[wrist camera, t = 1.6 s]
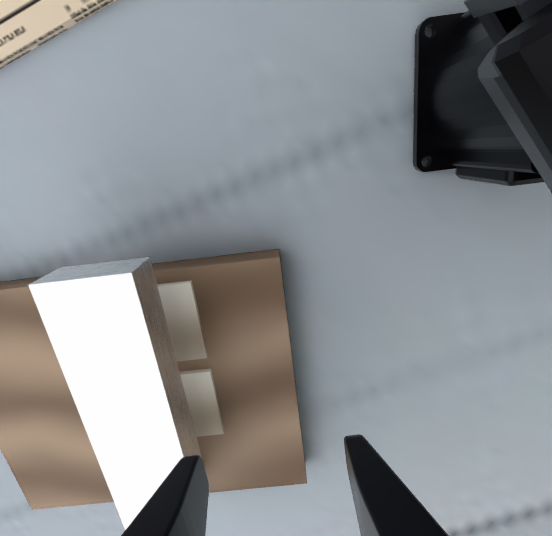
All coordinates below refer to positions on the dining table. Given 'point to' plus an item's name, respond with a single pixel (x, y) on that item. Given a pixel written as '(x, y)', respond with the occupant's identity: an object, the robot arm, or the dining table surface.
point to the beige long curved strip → (39, 22)
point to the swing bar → (120, 372)
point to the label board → (194, 373)
